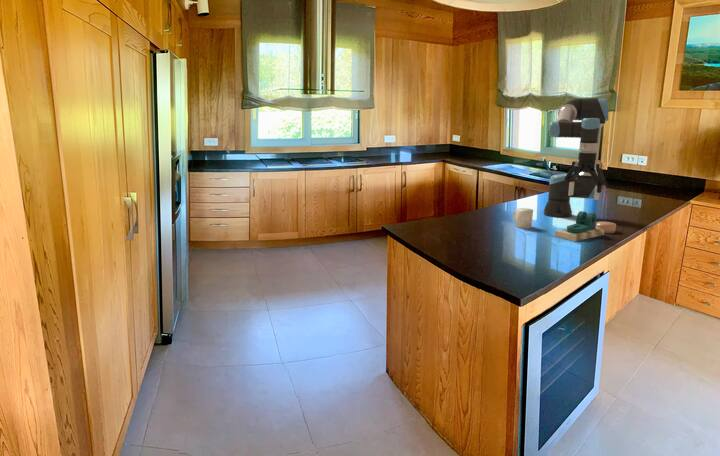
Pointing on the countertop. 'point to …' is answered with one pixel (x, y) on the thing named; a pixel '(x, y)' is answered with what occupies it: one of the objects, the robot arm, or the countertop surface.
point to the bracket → (583, 223)
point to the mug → (523, 218)
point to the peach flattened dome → (606, 226)
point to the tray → (579, 236)
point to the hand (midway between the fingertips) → (583, 197)
